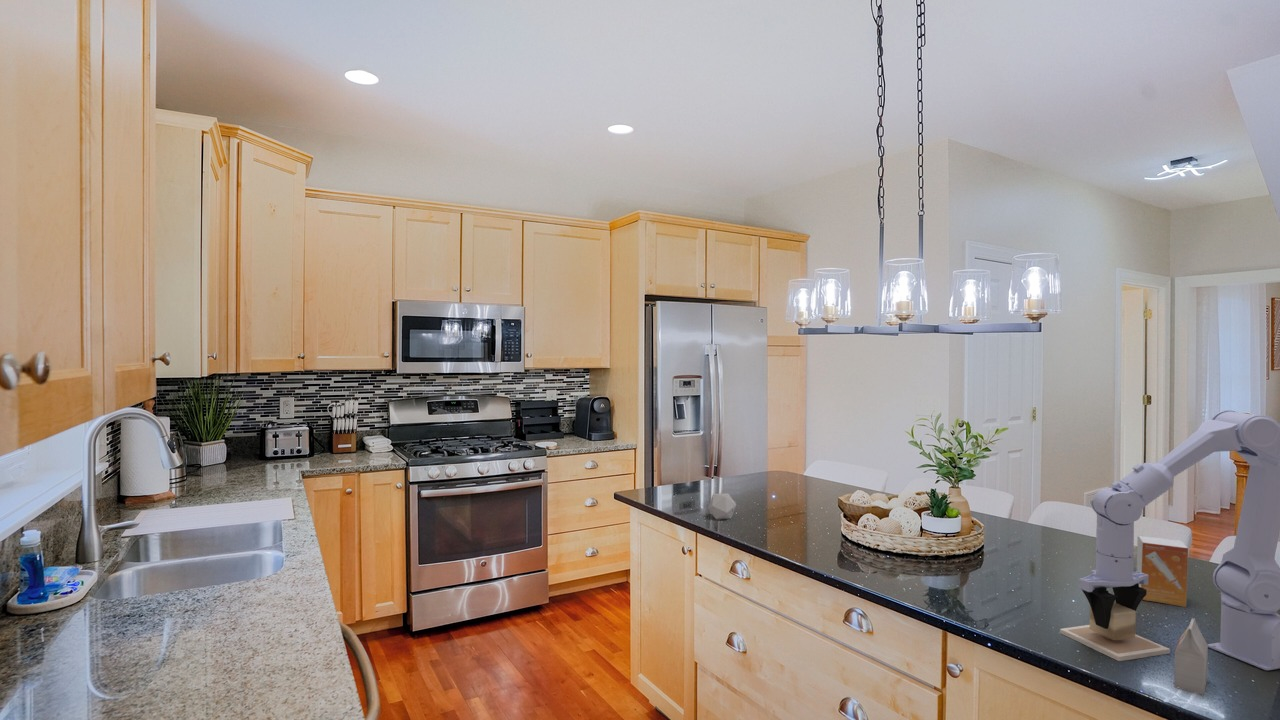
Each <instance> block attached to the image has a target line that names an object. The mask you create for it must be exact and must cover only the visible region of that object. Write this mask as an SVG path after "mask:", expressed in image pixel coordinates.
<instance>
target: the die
mask: <svg viewBox="0 0 1280 720" xmlns="http://www.w3.org/2000/svg"><path fill="white" fill-rule="evenodd" d="M736 507H737V503H736V502H735V500H734V499H733V498H732V496H731V495H730V494H729V493H713V494H712V496H711V499H710V502H709V504H708V505H707V509H708V510H709V512H710V513H711V515H712V516H713V517H714V519H715V520H717V521H718V520H731V519H732V517H733V514H734V512H735V510H736Z"/></svg>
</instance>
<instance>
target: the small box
mask: <svg viewBox="0 0 1280 720" xmlns="http://www.w3.org/2000/svg"><path fill="white" fill-rule="evenodd" d="M1136 545H1137V546H1136V547H1137V551H1136V552H1137V553H1136V572H1141V573H1144V574H1147V575H1149V576H1148V585H1142V584H1139V587H1141V588H1144V589H1146V590H1147V592H1146V596H1145V597H1144V598H1143V599H1142V600H1141V601H1147V602H1149V601H1150V602H1154V603H1155V602H1156V603H1161V604H1165V605H1171V606H1172V605H1173V606H1178V607H1183V608H1186V607H1187V600H1188V599H1187V598H1188V597H1187V595H1188V594H1187V593H1188V564H1189V563H1188V560H1189V547H1188V546H1187V545H1186V544H1185V543H1184V542H1183V540H1179V539H1178V540H1177V539H1169V538H1162V537H1152V536H1141V535H1137V544H1136Z"/></svg>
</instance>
